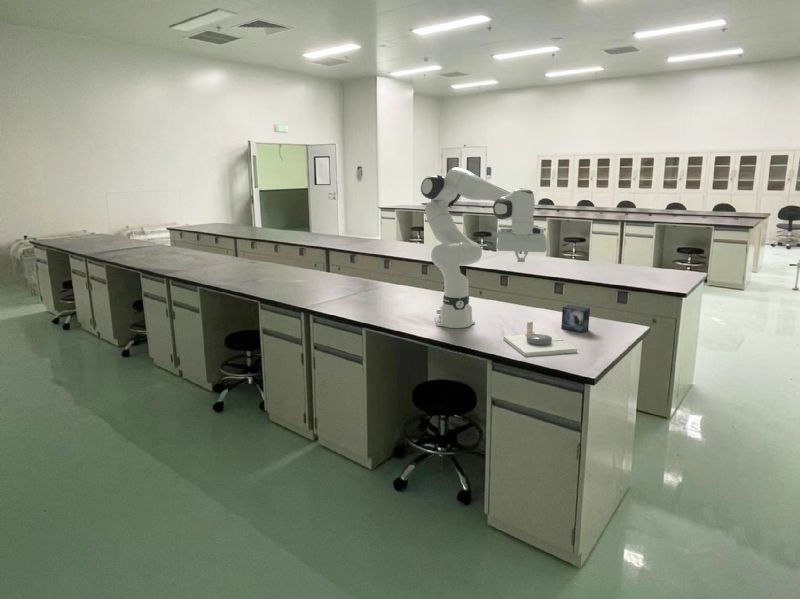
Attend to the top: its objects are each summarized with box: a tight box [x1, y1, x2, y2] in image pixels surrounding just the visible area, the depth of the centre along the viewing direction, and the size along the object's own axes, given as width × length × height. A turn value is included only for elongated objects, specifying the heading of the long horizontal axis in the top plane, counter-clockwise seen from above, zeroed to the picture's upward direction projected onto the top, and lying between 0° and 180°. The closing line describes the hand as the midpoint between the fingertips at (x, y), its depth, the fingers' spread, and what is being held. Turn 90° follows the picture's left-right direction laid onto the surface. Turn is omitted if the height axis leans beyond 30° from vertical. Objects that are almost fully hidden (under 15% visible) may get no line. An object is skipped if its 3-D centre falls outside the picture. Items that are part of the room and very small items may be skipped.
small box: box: [560, 304, 591, 334], centre depth 235 cm, size 11×6×10 cm, turn 45°
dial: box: [526, 320, 552, 345], centre depth 216 cm, size 16×10×6 cm, turn 10°
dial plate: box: [502, 332, 578, 357], centre depth 214 cm, size 22×22×2 cm
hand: (521, 262), depth 217 cm, fingers closed
